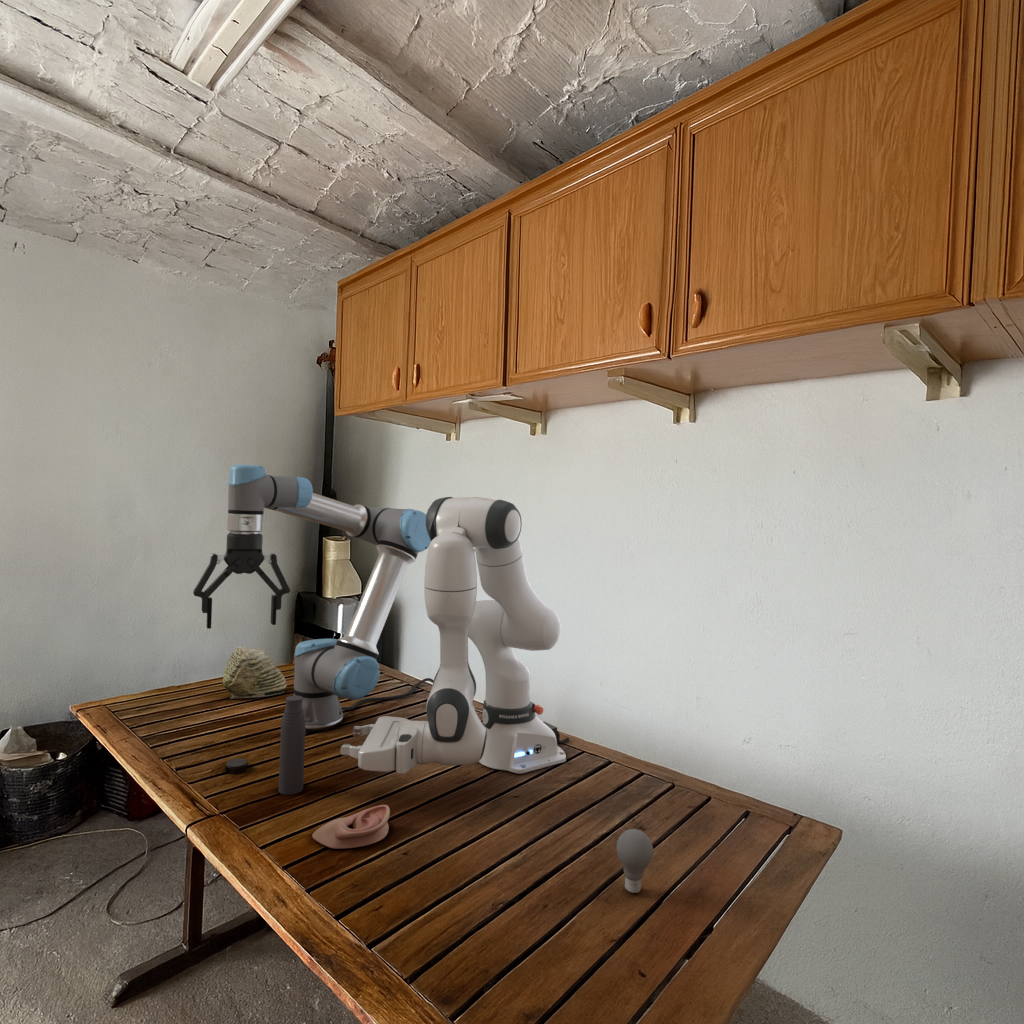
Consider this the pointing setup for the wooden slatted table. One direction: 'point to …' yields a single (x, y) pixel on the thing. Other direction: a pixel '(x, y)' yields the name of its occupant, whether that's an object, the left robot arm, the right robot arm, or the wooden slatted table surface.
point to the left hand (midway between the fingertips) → (241, 625)
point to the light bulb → (634, 857)
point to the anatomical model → (355, 829)
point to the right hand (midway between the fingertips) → (347, 739)
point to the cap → (236, 766)
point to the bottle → (292, 747)
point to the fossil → (252, 674)
